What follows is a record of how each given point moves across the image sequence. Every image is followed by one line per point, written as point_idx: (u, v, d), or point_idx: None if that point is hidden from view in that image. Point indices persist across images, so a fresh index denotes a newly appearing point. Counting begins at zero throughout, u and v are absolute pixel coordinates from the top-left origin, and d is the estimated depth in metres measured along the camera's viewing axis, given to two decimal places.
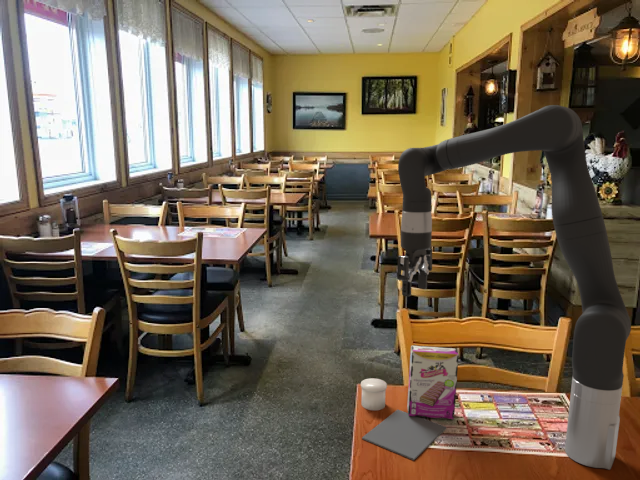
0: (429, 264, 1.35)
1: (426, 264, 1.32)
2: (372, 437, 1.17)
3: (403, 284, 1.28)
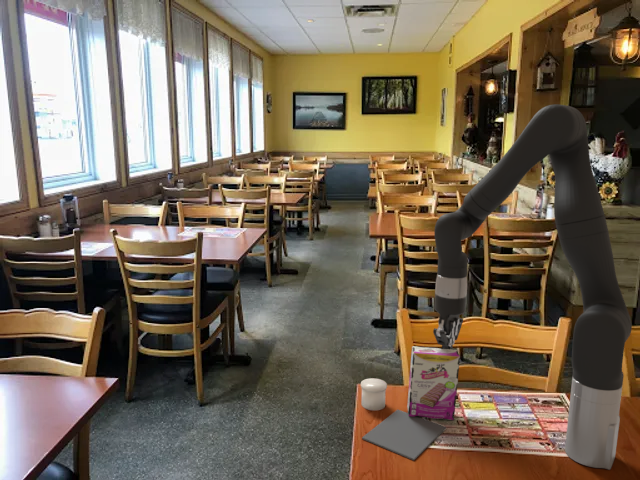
0: (456, 332, 1.32)
1: (456, 330, 1.30)
2: (372, 437, 1.17)
3: (443, 348, 1.30)
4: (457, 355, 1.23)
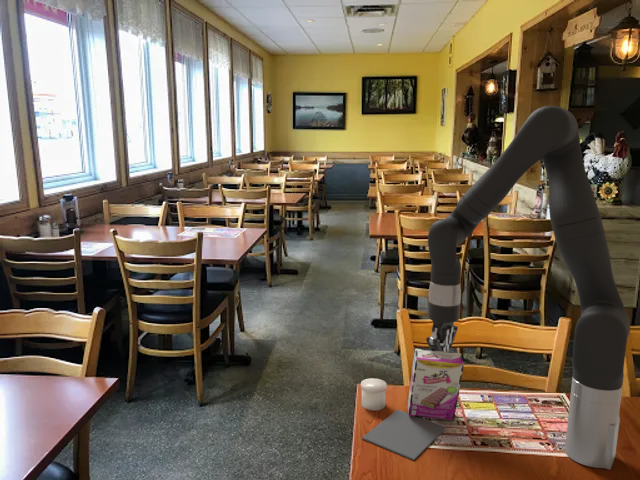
0: (450, 340, 1.29)
1: (450, 338, 1.27)
2: (372, 437, 1.17)
3: None
4: (461, 362, 1.20)
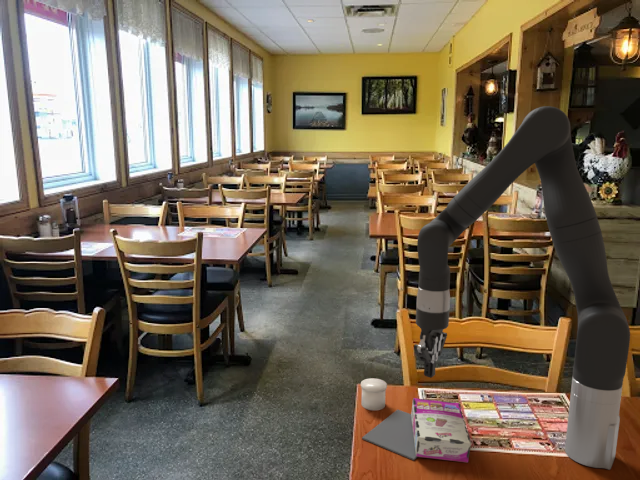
0: (440, 348, 1.25)
1: (439, 346, 1.22)
2: (372, 437, 1.17)
3: (425, 365, 1.23)
4: (466, 459, 1.08)
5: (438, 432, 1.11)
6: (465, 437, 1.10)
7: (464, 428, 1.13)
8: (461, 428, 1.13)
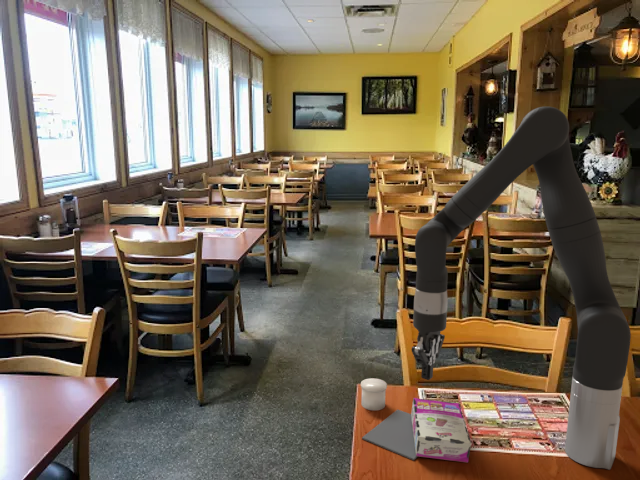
0: (437, 350, 1.23)
1: (437, 348, 1.21)
2: (372, 437, 1.17)
3: (423, 367, 1.22)
4: (466, 459, 1.08)
5: (438, 432, 1.11)
6: (465, 436, 1.10)
7: (464, 428, 1.13)
8: (461, 428, 1.13)
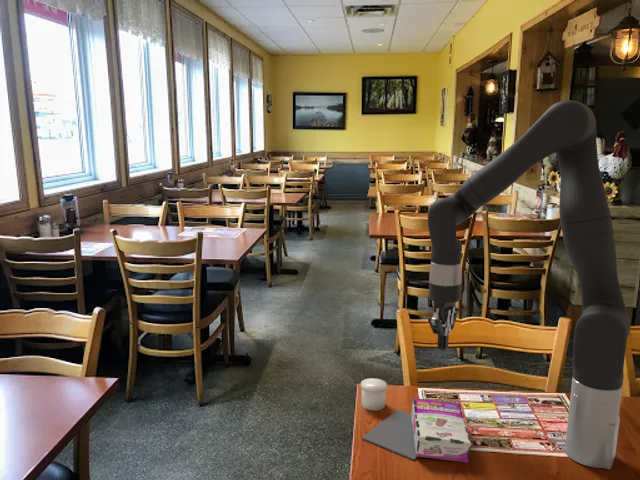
0: (452, 321, 1.29)
1: (452, 319, 1.27)
2: (372, 437, 1.17)
3: (439, 338, 1.27)
4: (466, 459, 1.08)
5: (438, 432, 1.11)
6: (465, 436, 1.10)
7: (464, 428, 1.13)
8: (461, 428, 1.13)
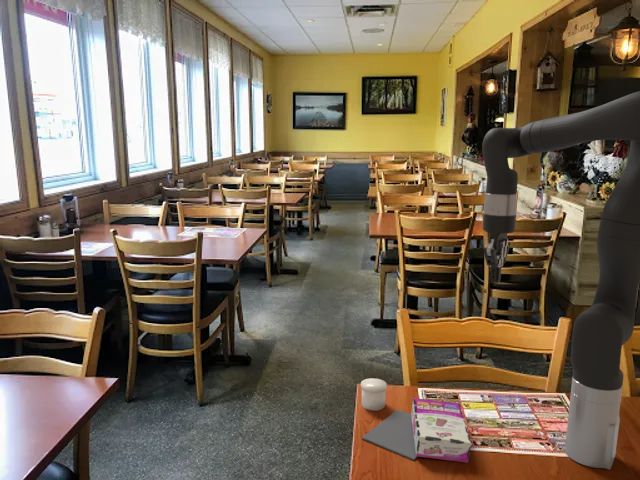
0: None
1: (505, 251, 1.27)
2: (372, 437, 1.17)
3: (492, 270, 1.28)
4: (466, 459, 1.08)
5: (438, 432, 1.11)
6: (465, 436, 1.10)
7: (464, 428, 1.13)
8: (461, 428, 1.13)
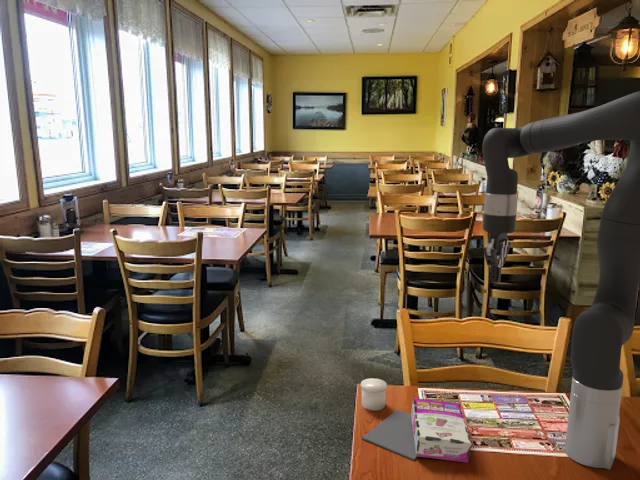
0: None
1: (505, 251, 1.27)
2: (372, 437, 1.17)
3: (492, 270, 1.28)
4: (466, 459, 1.08)
5: (438, 432, 1.11)
6: (465, 436, 1.10)
7: (464, 428, 1.13)
8: (461, 428, 1.13)
